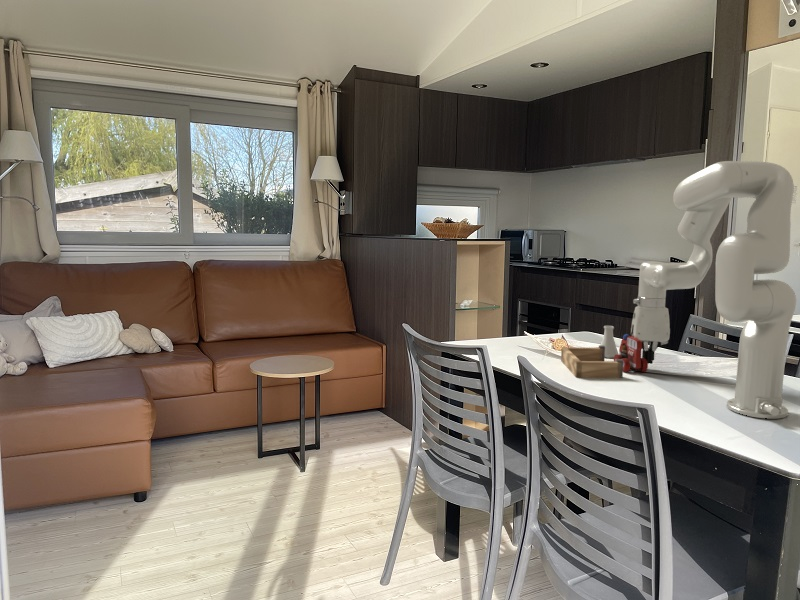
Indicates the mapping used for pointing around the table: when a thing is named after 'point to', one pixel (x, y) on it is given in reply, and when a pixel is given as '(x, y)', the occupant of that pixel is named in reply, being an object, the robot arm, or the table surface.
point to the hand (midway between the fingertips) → (647, 362)
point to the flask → (609, 342)
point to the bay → (591, 363)
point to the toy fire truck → (631, 354)
